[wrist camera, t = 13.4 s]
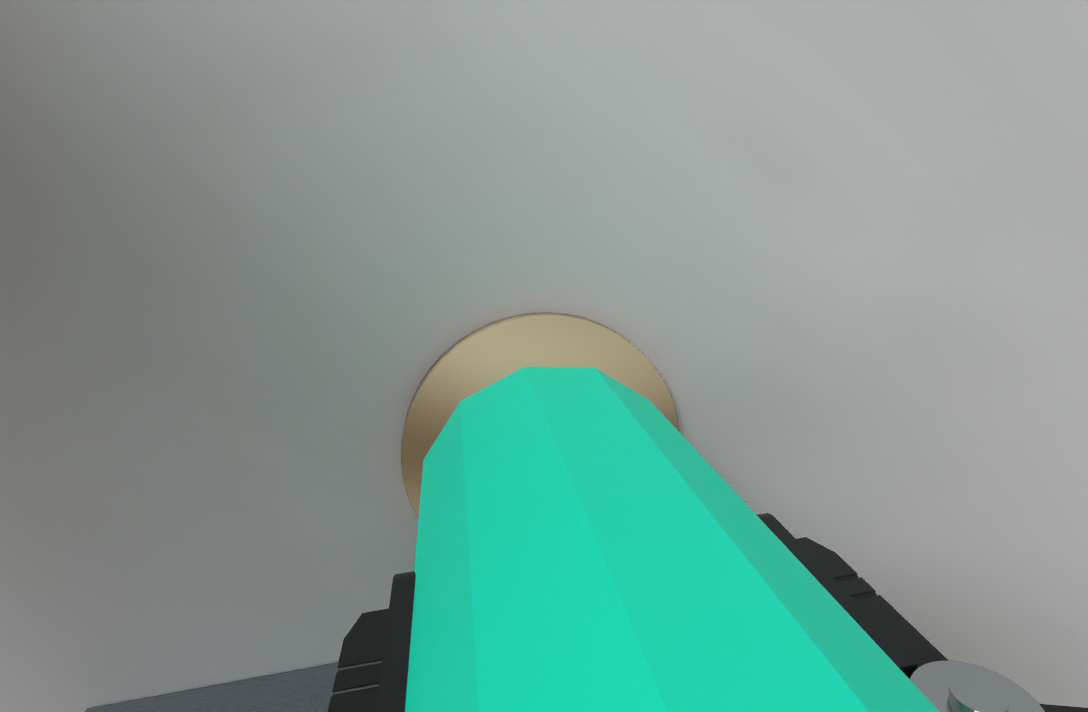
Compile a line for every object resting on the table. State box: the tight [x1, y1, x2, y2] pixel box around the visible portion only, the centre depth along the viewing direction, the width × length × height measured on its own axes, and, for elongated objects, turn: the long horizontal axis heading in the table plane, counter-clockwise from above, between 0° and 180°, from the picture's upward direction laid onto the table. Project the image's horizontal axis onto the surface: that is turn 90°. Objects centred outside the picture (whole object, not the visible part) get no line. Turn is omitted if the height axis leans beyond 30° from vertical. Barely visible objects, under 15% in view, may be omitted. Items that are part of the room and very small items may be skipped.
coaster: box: [401, 313, 679, 517], centre depth 16 cm, size 7×7×1 cm
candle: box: [405, 367, 940, 712], centre depth 8 cm, size 6×6×12 cm
